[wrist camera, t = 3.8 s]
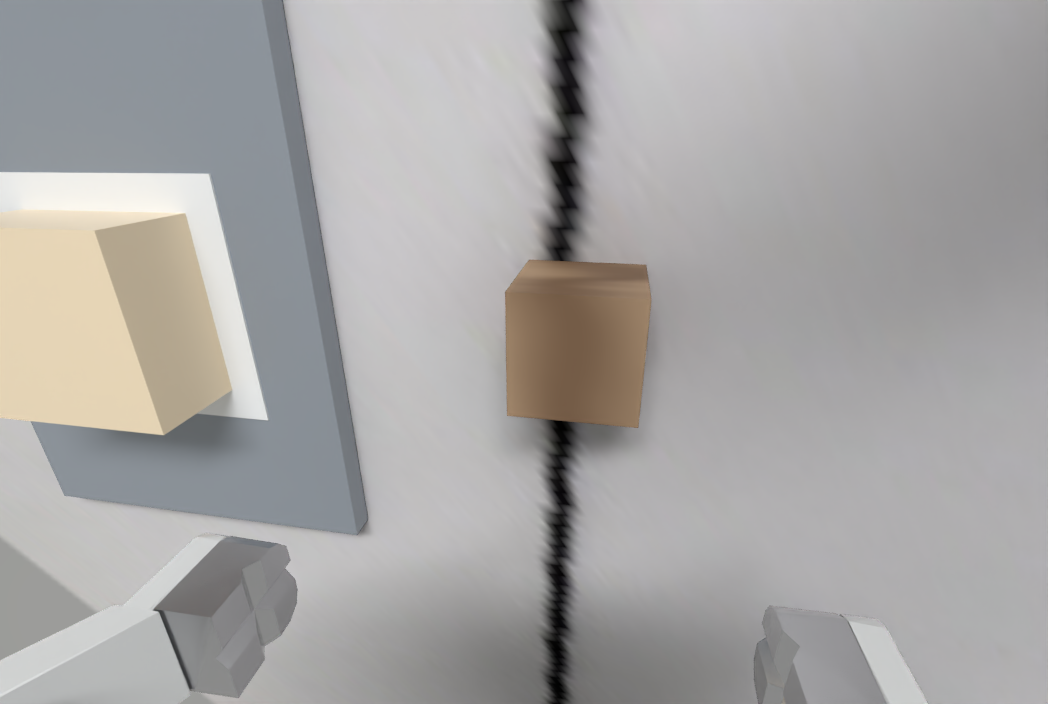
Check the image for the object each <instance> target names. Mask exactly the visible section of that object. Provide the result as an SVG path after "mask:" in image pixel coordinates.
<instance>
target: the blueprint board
mask: <svg viewBox="0 0 1048 704" xmlns="http://www.w3.org/2000/svg"><path fill="white" fill-rule="evenodd" d="M0 418H7V419H16V420H25V421H31V423H32V425H33V428H34V430H35V432H36V434H37V436H38V438H39V441H40V443H41V445H42V447H43V449H44V452H45V454H46V456H47V458H48V460H49V463H50V465H51V467H52V469H53V471H54V474H55V476H56V478H57V480H58V482H59V484H60V487H61V489H62V491H63V493H64V495H65V496H71V497H79V498H86V499H93V500H101V501H108V502H116V503H123V504H131V505H138V506H145V507H153V508H160V509H168V510H175V511H182V512H190V513H197V514H205V515H212V516H220V517H227V518H234V519H242V520H249V521H257V522H264V523H271V524H279V525H286V526H294V527H301V528H309V529H316V530H323V531H331V532H338V533H346V534H353V535H358V533H359V532H360V530H361V529H362V527H363V526H364V524H365V523H366V521H367V520H368V516H367V510H366V504H365V498H364V492H363V486H362V480H361V474H360V468H359V462H358V456H357V450H356V444H355V438H354V432H353V426H352V419H351V413H350V407H349V401H348V395H347V389H346V383H345V377H344V371H343V365H342V359H341V353H340V347H339V341H338V335H337V329H336V323H335V317H334V311H333V304H332V298H331V292H330V286H329V280H328V274H327V268H326V262H325V256H324V250H323V244H322V238H321V232H320V226H319V220H318V214H317V208H316V202H315V196H314V189H313V183H312V177H311V171H310V165H309V159H308V153H307V147H306V141H305V135H304V129H303V123H302V117H301V111H300V105H299V99H298V93H297V87H296V80H295V74H294V68H293V62H292V56H291V50H290V44H289V38H288V32H287V26H286V20H285V14H284V8H283V2H282V0H0Z"/></svg>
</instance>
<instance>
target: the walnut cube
mask: <svg viewBox="0 0 1048 704" xmlns="http://www.w3.org/2000/svg"><path fill="white" fill-rule="evenodd" d="M505 305H506V373H507V416H517V417H527V418H538V419H549V420H559V421H570V422H581V423H591V424H602V425H613V426H623V427H634V428H638V424H639V415H640V405H641V395H642V386H643V376H644V367H645V357H646V347H647V338H648V328H649V318H650V309H651V293H650V287H649V280H648V274H647V267H646V265H639V264H616V263H592V262H569V261H546V260H529V261H528V262H527V263H526V265H525V266H524V267H523V269H522V270H521V271H520V273H519V274H518V275H517V277H516V278H515V279H514V281H513V282H512V283H511V285H510V286H509V288H508V289H507V290H506V292H505Z"/></svg>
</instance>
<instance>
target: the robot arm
mask: <svg viewBox="0 0 1048 704" xmlns="http://www.w3.org/2000/svg"><path fill="white" fill-rule="evenodd" d="M289 562H290V556H289V553H288V550H287V547H286V546H285V545H281V544H277V543H271V542H265V541H259V540H252V539H246V538H240V537H233V536H224V535H218V534H211V533H205V534H202V535H200V536H197V537H195V538H194V539H193V540H192V541H191V542H190V543H189V544H188V545H187V546H186V547H184V548H183V549H182V550H181V551H180V552H179V553H178V554H177V555H176V556H175V557H174V558H173V559H172V560H171V561H170V562H169V563H168V564H166V565H165V566H164V567H163V568H162V569H161V570H160V571H159V572H158V573H157V574H156V575H155V576H154V577H153V578H152V579H151V580H149V581H148V582H147V583H146V584H145V585H144V586H143V587H142V588H141V589H140V590H139V591H138V592H137V593H136V594H135V595H134V596H132V597H131V598H130V599H129V600H128V601H127V602H126V603H125V604H124V605H123V606H122V605H113V606H111V607H109V608H107V609H105V610H103V611H101V612H99V613H96V614H94V615H93V616H90V617H88V618H86V619H84V620H82V621H80V622H78V623H76V624H74V625H72V626H70V627H68V628H66V629H64V630H62V631H60V632H58V633H55V634H53V635H51V636H49V637H47V638H45V639H43V640H41V641H39V642H37V643H35V644H33V645H31V646H29V647H27V648H25V649H23V650H20V651H18V652H16V653H14V654H12V655H10V656H8V657H6V658H4V659H2V660H0V704H179V703H180V702H182V701H183V700H184V699H186V698H187V697H188V696H189V695H191V692H190V691H194V692H201V693H208V694H215V695H222V696H228V697H235V698H239V697H240V695H241V694H242V692H243V691H244V689H245V688H246V686H247V685H248V683H249V682H250V681H251V679H252V678H253V676H254V675H255V673H256V672H257V670H258V669H259V667H260V666H261V664H262V663H263V661H264V660H265V646H266V645H267V644H269V643H270V642H272V641H273V640H275V639H276V638H278V637H280V636H281V635H282V633H283V631H284V630H285V628H286V627H287V625H288V624H289V622H290V621H291V618H292V615H293V612H294V609H295V607H296V604H297V591H298V589H297V585H296V580H295V578H294V577H293V576H292V575H291V574H290V573H289V572H288V571H287V570H286V569H285V568H286V566H287V565H288V563H289ZM762 624H763V628H764V631H765V635H766V638H764V639H763V640H762V641H760V642H759V643H757V647H756V652H755V657H754V681H755V688H756V695H757V699H758V703H759V704H928V702H927V700H926V698H925V696H924V695H923V693H922V691H921V689H920V687H919V686H918V684H917V682H916V680H915V679H914V677H913V675H912V673H911V671H910V670H909V668H908V666H907V664H906V662H905V661H904V659H903V657H902V655H901V653H900V652H899V650H898V648H897V646H896V644H895V643H894V641H893V639H892V637H891V635H890V634H889V632H888V630H887V628H886V626H885V625H884V624H883V623H882V622H881V621H880V620H878V619H875V618H867V617H859V616H851V615H842V614H840V615H838V614H836V613H828V612H819V611H811V610H802V609H793V608H785V607H776V606H769V607H768V608H767V610H766V611H765V614H764V618H763V622H762Z"/></svg>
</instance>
